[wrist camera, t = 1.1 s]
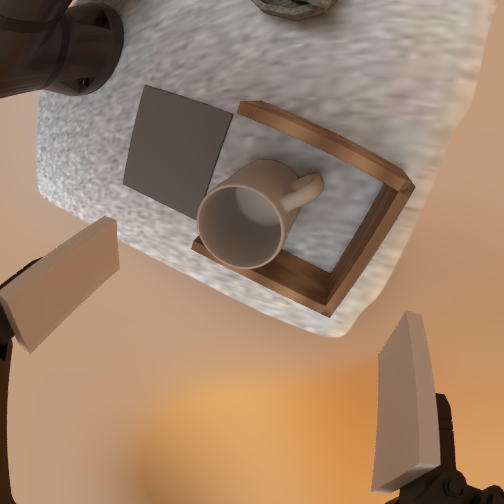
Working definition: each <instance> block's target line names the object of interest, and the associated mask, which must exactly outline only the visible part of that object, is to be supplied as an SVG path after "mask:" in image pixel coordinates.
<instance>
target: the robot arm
mask: <svg viewBox="0 0 504 504" xmlns="http://www.w3.org/2000/svg"><path fill="white" fill-rule="evenodd" d="M71 2H72V0H0V98H4V97H8V96H12V95H16V94H21V93H26V92H30V91H35V90H41V89H45V90H49V91H53V92H56V93H60V94H64V95H68V96H78V95H85V94H89V93H92V92H94V91H95V90H97V89H98V88H100V87H101V86H102V85H103V84H104V83H105V82H106V81H107V79H108V78H109V77H110V75H111V74H112V72H113V70H114V69H115V67H116V65H117V62H118V60H119V57H120V54H121V50H122V44H123V27H122V23H121V20H120V17H119V15H118V14H117V12H116V11H115V10H114V9H112V8H111V7H109V6H107V5H102V4H97V3H87V4H82V5H78V6H74V7H70V8H68V6H69V5H70V3H71ZM119 268H120V267H119V255H118V242H117V224H116V220H115V219H111V218H108V217H105V216H104V217H102V218H101V219H99V220H97V221H96V222H94V223H93V224H91V225H90V226H88V227H87V228H85V229H84V230H82V231H80V232H79V233H78V234H76V235H74V236H73V237H72V238H70V239H69V240H67V241H66V242H64V243H63V244H61V245H60V246H58V247H57V248H55V249H54V250H53V251H51V252H50V253H48V254H47V255H46V256H44V257H41V258H39V259H36V260H34V261H32V262H30V263H29V264H28V265H26V266H25V267H24V268H23V269H21V270H20V271H18V272H17V274H14V275H13V276H12V277H10V278H9V279H8V280H7V281H5V282H4V283H3V284H1V285H0V504H16V503H15V501H14V500H13V498H12V494H11V487H10V479H9V469H8V456H7V455H8V454H7V398H8V382H9V372H10V362H11V354H12V347H13V343H12V340H11V338H12V337H13V336H14V335H15V337H16V339H17V341H18V343H19V345H20V346H21V347H22V348H24V349H25V350H26V351H27V352H29V353H30V354H31V353H32V352H33V351H34V350H35V349H36V348H37V347H38V346H39V345H40V344H41V342H42V341H44V340H45V339H46V338H47V336H49V335H50V334H51V332H52V331H54V330H55V328H57V326H58V325H60V324H61V323H62V322H63V321H64V320H65V319H66V318H67V317H68V316H69V315H70V314H71V313H72V312H73V311H74V310H75V309H76V308H77V307H78V306H79V305H80V304H81V303H82V302H83V301H85V300H86V299H87V298H88V297H89V296H90V295H91V294H92V293H93V292H94V291H95V290H96V289H98V287H100V286H101V285H102V284H103V283H104V282H105V281H106V280H107V279H109V278H110V277H111V276H112V275H113V274H114V273H115V272H116V271H117V270H119ZM378 368H379V369H378V371H379V373H378V374H379V375H378V377H379V378H378V417H377V435H376V448H375V460H374V470H373V479H372V487H371V492H377V493H392V492H394V491H396V490H398V489H400V494H399V497H397V498H395V499H393V500H390V501H388V502H387V503H385V504H504V491H503V489H501V488H500V487H499V486H496V485H493V486H489V487H488V488H486V489H484V490H480V489H477V488H474V487H472V486H469V485H467V483H466V479H465V477H464V476H463V474H462V473H461V472H459V471H458V470H456V463H455V446H454V435H453V431H452V430H453V424H452V421H451V420H452V417H451V408H450V405H449V403H448V401H447V399H446V397H445V395H444V394H438V393H435V388H434V380H433V374H432V368H431V362H430V355H429V350H428V344H427V339H426V334H425V329H424V324H423V320H422V316H421V315H420V314H417V313H414V312H410V311H407V310H406V311H405V313H404V315H403V316H402V318H401V320H400V321H399V323H398V325H397V326H396V328H395V329H394V331H393V333H392V334H391V336H390V338H389V339H388V341H387V342H386V344H385V345H384V347H383V348H382V350H381V351H380V353H379V354H378Z"/></svg>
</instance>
